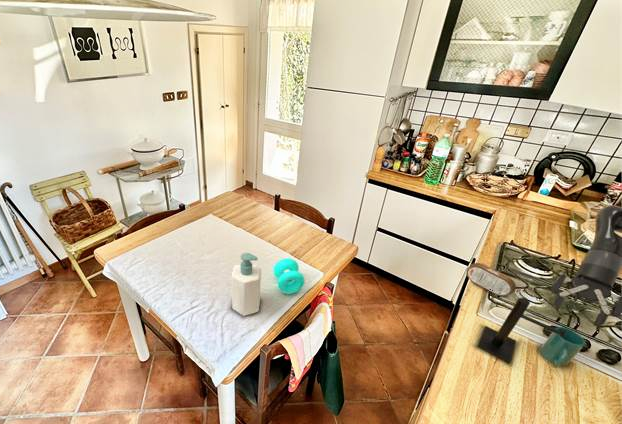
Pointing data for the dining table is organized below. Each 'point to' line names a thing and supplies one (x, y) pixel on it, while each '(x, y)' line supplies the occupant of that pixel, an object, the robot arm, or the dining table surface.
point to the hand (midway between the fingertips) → (576, 316)
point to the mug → (562, 347)
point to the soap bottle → (246, 286)
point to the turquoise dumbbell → (288, 276)
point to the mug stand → (500, 341)
